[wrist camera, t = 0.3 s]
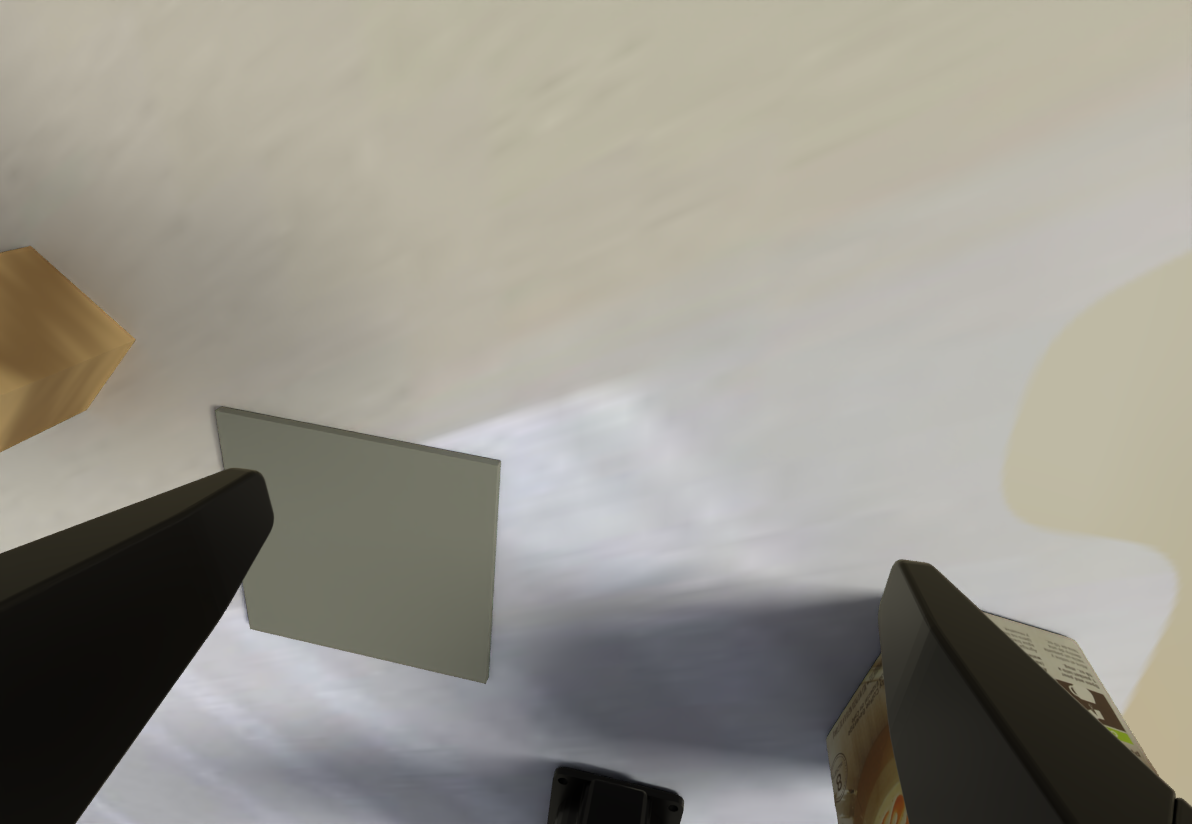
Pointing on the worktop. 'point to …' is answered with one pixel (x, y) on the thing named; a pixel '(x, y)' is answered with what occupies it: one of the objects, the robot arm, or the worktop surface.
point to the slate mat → (371, 543)
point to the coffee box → (864, 741)
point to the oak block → (49, 347)
